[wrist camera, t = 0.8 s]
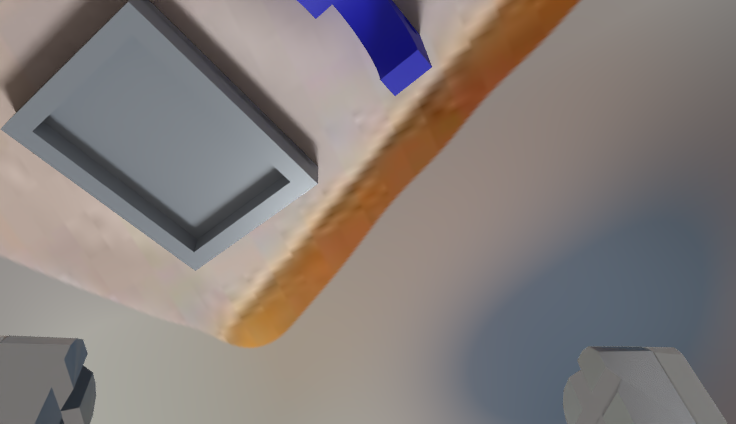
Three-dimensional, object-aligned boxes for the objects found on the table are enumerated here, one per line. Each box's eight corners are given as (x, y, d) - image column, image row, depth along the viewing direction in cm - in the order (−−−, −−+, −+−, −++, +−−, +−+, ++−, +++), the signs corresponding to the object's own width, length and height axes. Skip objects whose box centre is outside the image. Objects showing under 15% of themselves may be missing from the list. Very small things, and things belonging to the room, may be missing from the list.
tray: (138, -10, 38) (128, 1, 36) (318, 166, 47) (317, 183, 45) (15, 112, 42) (0, 129, 40) (200, 251, 51) (195, 270, 49)
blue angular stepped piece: (251, -60, 37) (240, -37, 32) (302, -112, 35) (299, -96, 30) (371, 73, 42) (377, 110, 38) (419, 34, 41) (432, 67, 36)
